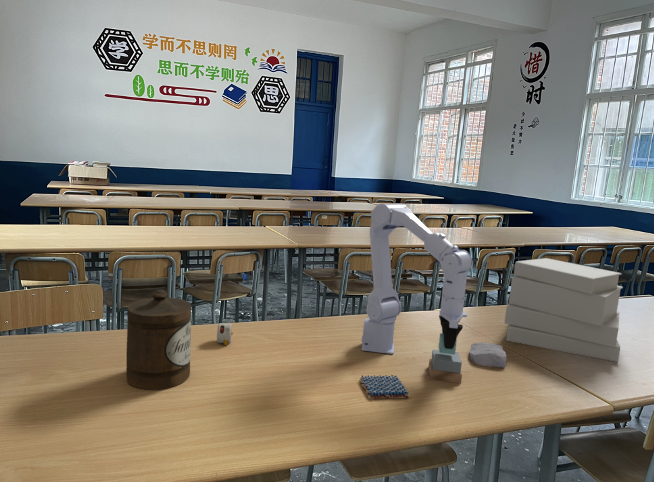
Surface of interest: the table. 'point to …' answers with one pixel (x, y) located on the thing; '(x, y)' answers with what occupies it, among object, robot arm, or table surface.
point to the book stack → (564, 308)
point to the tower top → (446, 362)
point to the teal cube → (442, 348)
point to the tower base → (444, 375)
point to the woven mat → (384, 387)
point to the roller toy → (224, 333)
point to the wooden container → (158, 342)
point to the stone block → (488, 354)
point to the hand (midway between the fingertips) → (447, 345)
